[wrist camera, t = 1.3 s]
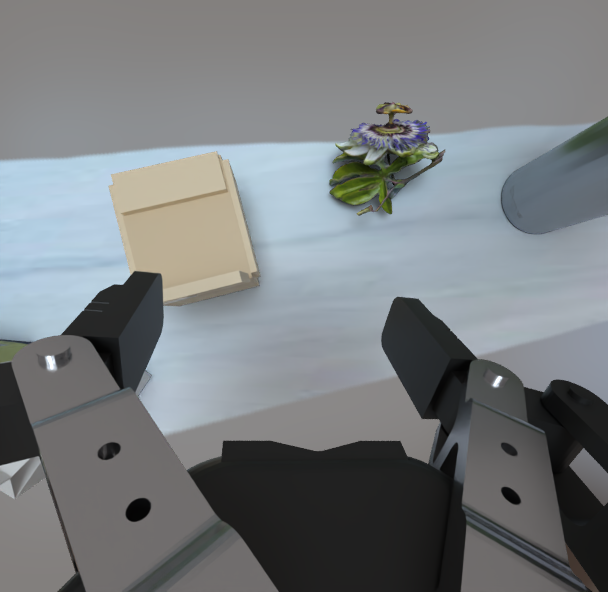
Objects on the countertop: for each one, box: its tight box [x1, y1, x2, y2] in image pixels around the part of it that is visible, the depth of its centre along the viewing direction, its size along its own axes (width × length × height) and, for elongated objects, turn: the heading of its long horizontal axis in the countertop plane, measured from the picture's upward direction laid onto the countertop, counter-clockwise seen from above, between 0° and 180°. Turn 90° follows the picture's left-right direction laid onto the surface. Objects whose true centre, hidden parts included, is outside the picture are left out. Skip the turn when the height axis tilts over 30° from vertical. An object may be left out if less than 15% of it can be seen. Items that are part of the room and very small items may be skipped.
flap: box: [163, 270, 250, 305], centre depth 25 cm, size 10×8×1 cm
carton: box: [109, 151, 261, 306], centre depth 35 cm, size 11×12×11 cm
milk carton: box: [0, 361, 151, 499], centre depth 29 cm, size 7×7×19 cm
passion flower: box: [330, 102, 445, 216], centre depth 38 cm, size 11×11×12 cm
